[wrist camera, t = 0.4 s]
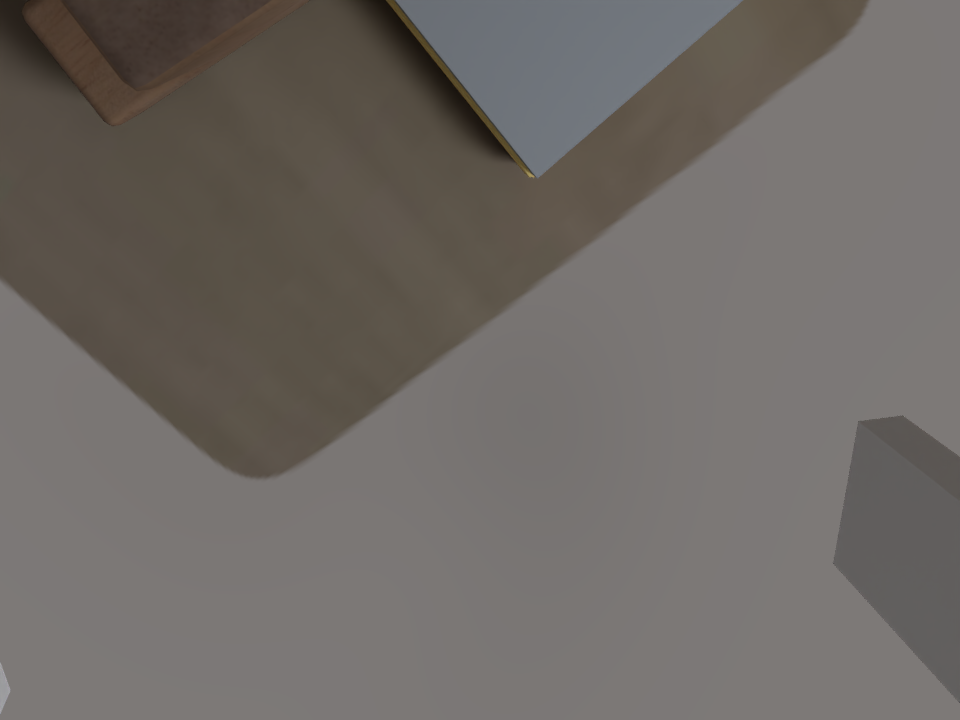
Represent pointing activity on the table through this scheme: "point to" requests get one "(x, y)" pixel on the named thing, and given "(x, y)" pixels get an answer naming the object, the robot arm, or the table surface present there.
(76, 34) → the wooden block
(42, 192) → the table surface
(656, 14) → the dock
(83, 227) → the table surface
